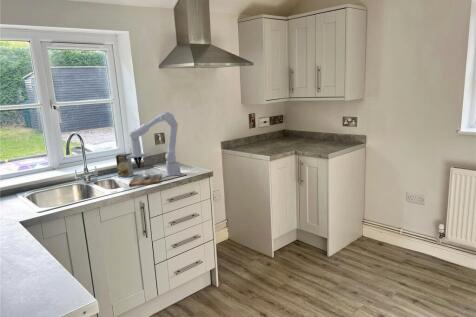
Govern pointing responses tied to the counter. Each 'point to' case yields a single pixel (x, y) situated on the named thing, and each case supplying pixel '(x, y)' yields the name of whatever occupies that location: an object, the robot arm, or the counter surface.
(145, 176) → the lock bar
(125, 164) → the coffee box
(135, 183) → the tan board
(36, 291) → the counter surface
